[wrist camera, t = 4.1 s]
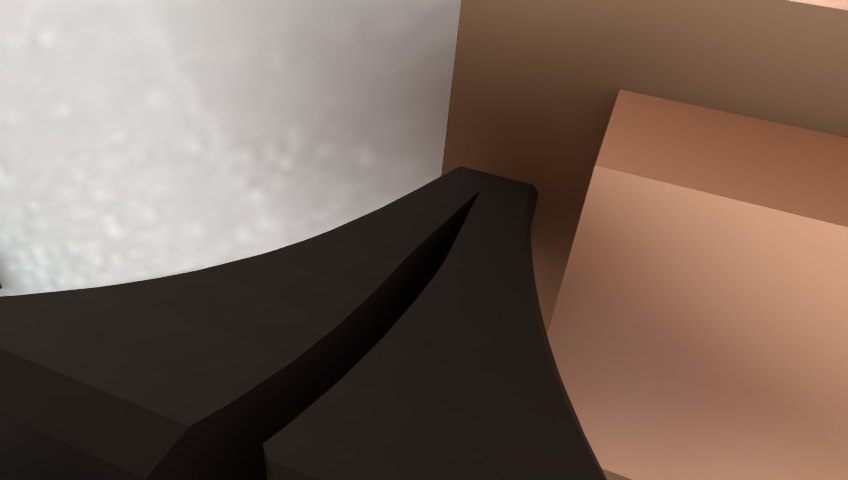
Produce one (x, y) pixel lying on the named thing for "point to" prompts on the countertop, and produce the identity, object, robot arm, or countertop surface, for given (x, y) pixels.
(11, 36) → the countertop surface
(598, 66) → the wooden cutting board
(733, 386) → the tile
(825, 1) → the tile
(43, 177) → the countertop surface
